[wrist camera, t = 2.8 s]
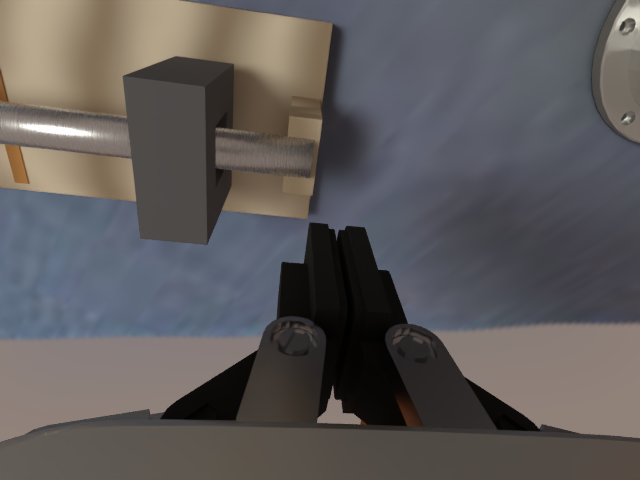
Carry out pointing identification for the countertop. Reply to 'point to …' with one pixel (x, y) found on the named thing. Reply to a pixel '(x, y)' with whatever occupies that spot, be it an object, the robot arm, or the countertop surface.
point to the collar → (179, 146)
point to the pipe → (113, 139)
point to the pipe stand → (147, 49)
